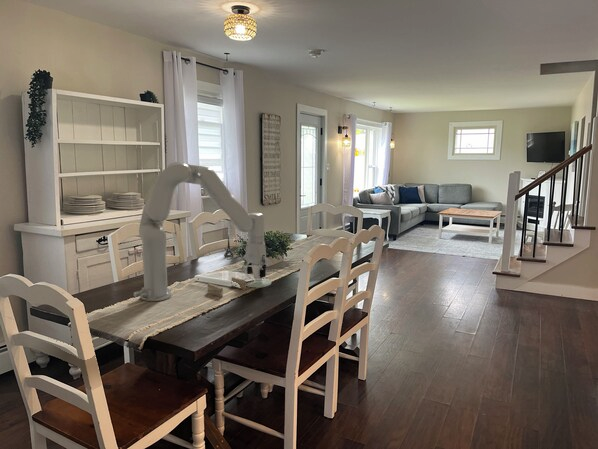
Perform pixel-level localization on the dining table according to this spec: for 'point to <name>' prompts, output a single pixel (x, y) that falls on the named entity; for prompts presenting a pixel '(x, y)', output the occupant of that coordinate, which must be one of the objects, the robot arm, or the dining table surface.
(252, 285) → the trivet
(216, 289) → the maple blocks
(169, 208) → the robot arm
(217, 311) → the dining table surface
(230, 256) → the eiffel tower figurine
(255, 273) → the cup
